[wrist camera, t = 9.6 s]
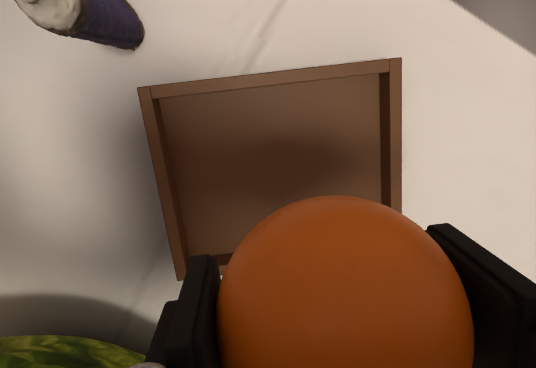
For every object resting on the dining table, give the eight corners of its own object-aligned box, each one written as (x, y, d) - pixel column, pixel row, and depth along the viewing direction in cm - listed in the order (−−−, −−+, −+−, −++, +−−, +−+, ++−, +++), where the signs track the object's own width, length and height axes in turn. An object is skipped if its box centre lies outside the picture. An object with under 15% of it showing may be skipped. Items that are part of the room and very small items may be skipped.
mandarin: (236, 343, 13) (228, 569, 7) (209, 182, 11) (168, 298, 5) (401, 320, 13) (533, 520, 7) (401, 158, 12) (577, 243, 5)
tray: (182, 264, 28) (177, 281, 25) (146, 86, 24) (136, 87, 21) (388, 237, 28) (401, 251, 26) (386, 59, 24) (402, 57, 22)
